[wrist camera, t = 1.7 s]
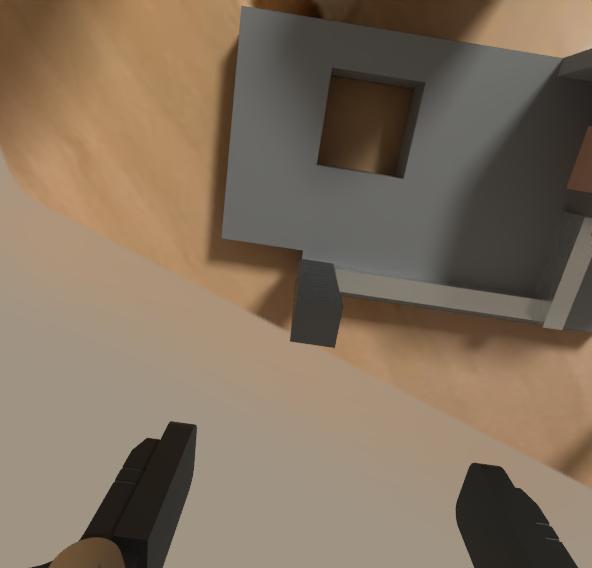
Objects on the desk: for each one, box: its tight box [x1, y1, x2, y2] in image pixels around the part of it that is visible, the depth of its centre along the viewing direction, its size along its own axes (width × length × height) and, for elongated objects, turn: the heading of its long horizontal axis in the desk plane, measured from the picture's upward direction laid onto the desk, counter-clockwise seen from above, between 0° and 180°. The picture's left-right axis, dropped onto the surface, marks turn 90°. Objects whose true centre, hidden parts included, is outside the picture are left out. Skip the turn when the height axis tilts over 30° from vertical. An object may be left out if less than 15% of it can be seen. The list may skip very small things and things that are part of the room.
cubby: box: [221, 6, 592, 332], centre depth 25 cm, size 32×18×12 cm, turn 82°
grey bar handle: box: [290, 211, 592, 348], centre depth 25 cm, size 19×8×9 cm, turn 82°
